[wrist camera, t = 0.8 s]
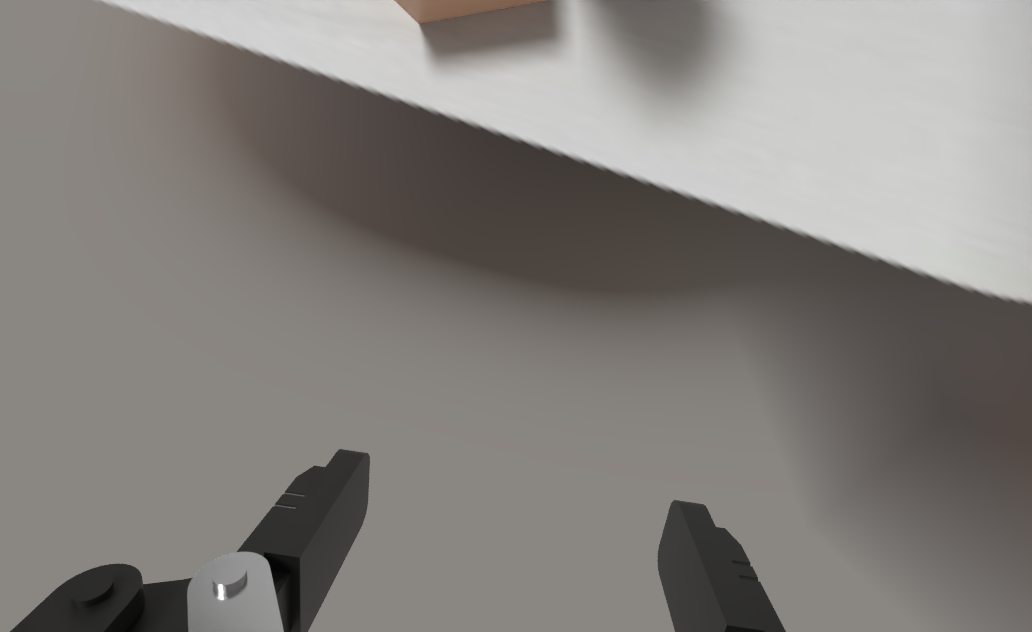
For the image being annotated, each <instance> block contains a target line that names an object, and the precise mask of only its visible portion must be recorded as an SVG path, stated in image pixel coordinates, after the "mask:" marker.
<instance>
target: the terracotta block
mask: <svg viewBox="0 0 1032 632" xmlns="http://www.w3.org/2000/svg"><path fill="white" fill-rule="evenodd" d="M395 1H396V2H397V3H398V4H399V5H400V6H401V7H402V8H403V9H404V10H405V11H406V12H407V13H408V14H409V15H410V16H411V17H412V18H413V19H414V20H415V21H416V22H417V23H418V24H422V23H427V22H433V21H438V20H444V19H449V18H455V17H461V16H466V15H472V14H477V13H483V12H488V11H494V10H499V9H505V8H510V7H516V6H521V5H527V4H532V3H538V2H543V1H548V0H395Z"/></svg>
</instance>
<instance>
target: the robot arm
mask: <svg viewBox="0 0 1032 632" xmlns="http://www.w3.org/2000/svg"><path fill="white" fill-rule="evenodd" d="M369 466H370V457H369V454H368V453H362V452H355V451H349V450H343V449H340V450H338V451H337V452H336V454H335V455H334V456H333V458H332V459H331V461H330V462H329V463H328V465H327V466H326V467H320V466H313V467H312V468H310V469H309V470H307V471H306V472H304V473H303V474H301V475H299V476H298V477H296V478H295V480H294V481H293V482H292V483H291V485H290V486H289V487H288V489H287V490H286V491H285V494H283V495H282V496H281V497H280V498H279V500H278V501H277V502H276V504H275V507H272V508H271V510H270V511H269V512H268V513H267V515H266V516H265V517H264V518H263V520H262V521H261V522H260V523H259V525H258V526H257V527H256V528H255V530H254V531H253V532H252V533H251V535H250V536H249V537H248V538H247V540H246V541H245V542H244V543H243V545H242V546H241V547H240V548H239V550H238V551H237V552H235V553H231V554H227V555H224V556H221V557H219V558H217V559H215V560H213V561H211V562H209V563H208V564H206V565H205V566H204V567H202V568H201V569H200V570H199V571H198V572H197V573H196V574H195V575H194V577H193V578H190V579H184V580H176V581H169V582H160V583H152V584H143V581H142V576H141V573H140V572H139V570H138V569H136V568H135V567H133V566H131V565H126V564H109V565H104V566H100V567H97V568H93V569H90V570H87V571H85V572H83V573H81V574H79V575H76V576H75V577H73V578H71V579H69V580H68V581H66V582H65V583H63V584H62V585H61V586H59V587H58V588H57V589H56V590H55V591H53V592H52V593H51V594H50V595H49V596H48V597H47V598H46V599H45V600H44V601H43V602H42V603H41V604H39V605H38V606H37V607H36V608H35V609H34V610H33V611H32V612H31V613H30V614H29V615H28V616H27V617H25V619H23V620H22V621H21V622H20V623H19V624H18V625H17V626H16V627H15V628H14V629H13V630H12V631H10V632H308V630H309V628H310V626H311V624H312V622H313V620H314V618H315V616H316V615H317V613H318V611H319V608H320V607H321V605H322V603H323V601H324V599H325V597H326V595H327V593H328V591H329V589H330V587H331V585H332V583H333V581H334V579H335V577H336V575H337V574H338V572H339V570H340V568H341V566H342V564H343V562H344V560H345V558H346V556H347V554H348V552H349V550H350V548H351V546H352V544H353V542H354V540H355V538H356V536H357V534H358V532H359V531H360V529H361V526H362V524H363V521H364V518H365V515H366V510H367V504H368V487H369ZM658 570H659V575H660V579H661V582H662V586H663V589H664V593H665V597H666V600H667V604H668V607H669V611H670V615H671V618H672V622H673V625H674V629H675V632H786V631H785V629H784V627H783V626H782V624H781V622H780V620H779V618H778V616H777V614H776V612H775V610H774V608H773V606H772V604H771V602H770V600H769V598H768V596H767V595H766V593H765V591H764V589H763V587H762V585H761V583H760V582H758V577H757V575H756V573H755V571H754V569H753V567H751V566H750V561H749V560H748V558H747V556H746V554H745V552H744V550H743V548H742V546H741V545H740V544H739V543H738V541H737V540H736V539H735V538H734V537H733V536H732V535H731V534H730V533H729V532H728V531H727V530H726V529H725V528H718V527H716V526H715V524H714V522H713V520H712V518H711V516H710V514H709V512H708V509H707V508H706V506H705V505H703V504H697V503H691V502H684V501H677V500H674V501H673V502H672V503H671V506H670V509H669V513H668V516H667V520H666V523H665V527H664V530H663V534H662V538H661V541H660V545H659V551H658Z"/></svg>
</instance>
